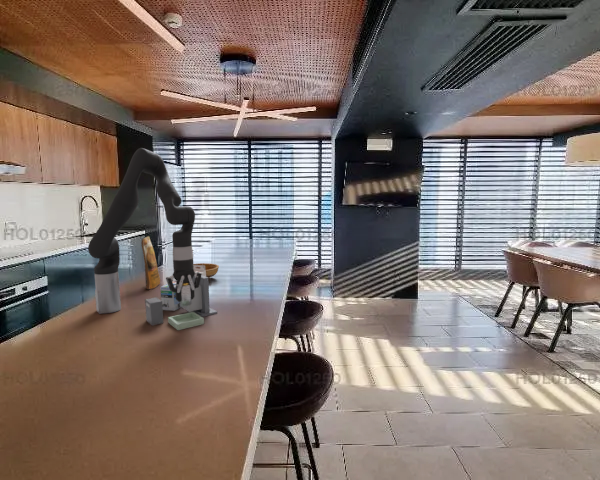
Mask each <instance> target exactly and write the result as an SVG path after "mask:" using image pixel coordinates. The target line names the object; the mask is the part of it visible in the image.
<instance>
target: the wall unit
mask: <svg viewBox="0 0 600 480" xmlns="http://www.w3.org/2000/svg"><path fill="white" fill-rule="evenodd" d="M192 281H193V285H194V281H195V275H194V276H193V278H192ZM209 283H210V282H209V278H208V277H205V276H203V275H201V279H200V284H199V287H198V288H195V289H194V295H195V296H194V298H193V299H191V303H192V304H191V305H189V306H182V307H181V308H182V309H184V310H185V311H187V313H189V312H195V313H196V314H198V315H199V316H201V317H203V318H204V317H208V316H211V315H216V314H218V311H217V310H215V309H214V308H212V307H210V287H209Z"/></svg>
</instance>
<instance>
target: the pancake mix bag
mask: <svg viewBox="0 0 600 480" xmlns="http://www.w3.org/2000/svg"><path fill="white" fill-rule="evenodd" d="M141 249H142V254H143V261H144V272H145V276H144V277H145V289H146V290H152V289H155V288H156V287H158V286H159V285H160V284H161V277H160V274H159V269H158V263H157V259H156V254H155V250H154V247H153V243H152V241H151V238H150V235H148V236H146V237H143V238H142V240H141Z"/></svg>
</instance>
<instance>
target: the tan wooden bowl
mask: <svg viewBox="0 0 600 480" xmlns="http://www.w3.org/2000/svg"><path fill="white" fill-rule="evenodd" d="M193 265H205V271H206V277H208V279H210V278H212V277H215V276H216V275H217V274H218V271H219V267H220V266H219V265H218V264H215V263H193ZM196 268H198V269H200V267H196Z"/></svg>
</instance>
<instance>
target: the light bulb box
mask: <svg viewBox="0 0 600 480" xmlns="http://www.w3.org/2000/svg"><path fill="white" fill-rule="evenodd" d="M172 283H173V285H174V288H175V287H176V280H175V281H174V280H173V282H172ZM159 289H160V300H161V301H162V306H163V311H171V312H172V311H173V312H175V311H177V310H178V309H181V308H182V306H180V302H178V301H177V300H176V293H175V292H172V291H170V288H169V286H168V283H165V284H164V285H161V286H160V288H159Z"/></svg>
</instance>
